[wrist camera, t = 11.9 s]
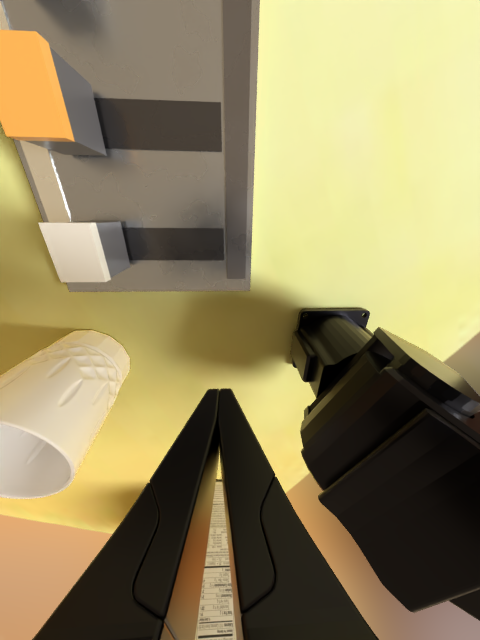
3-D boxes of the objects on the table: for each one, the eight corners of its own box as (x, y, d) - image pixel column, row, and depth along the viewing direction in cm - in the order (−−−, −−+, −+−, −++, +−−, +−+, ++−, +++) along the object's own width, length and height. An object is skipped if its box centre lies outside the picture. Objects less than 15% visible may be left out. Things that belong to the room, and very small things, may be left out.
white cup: (33, 334, 20) (-128, 436, 11) (112, 314, 19) (11, 403, 10) (82, 394, 23) (-9, 508, 14) (150, 378, 23) (99, 486, 14)
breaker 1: (91, 83, 11) (36, 31, 8) (107, 156, 13) (65, 137, 9) (41, 81, 11) (-35, 27, 8) (63, 155, 12) (6, 136, 9)
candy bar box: (229, 514, 37) (230, 711, 22) (200, 514, 37) (182, 715, 22) (236, 478, 32) (242, 701, 17) (202, 478, 32) (180, 706, 17)
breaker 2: (121, 220, 14) (89, 223, 11) (131, 267, 15) (105, 282, 12) (81, 220, 14) (38, 222, 11) (95, 267, 15) (60, 282, 12)
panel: (261, -153, 9) (267, -218, 8) (248, 285, 18) (250, 291, 17) (-78, -184, 9) (-137, -261, 7) (81, 285, 18) (68, 292, 16)
